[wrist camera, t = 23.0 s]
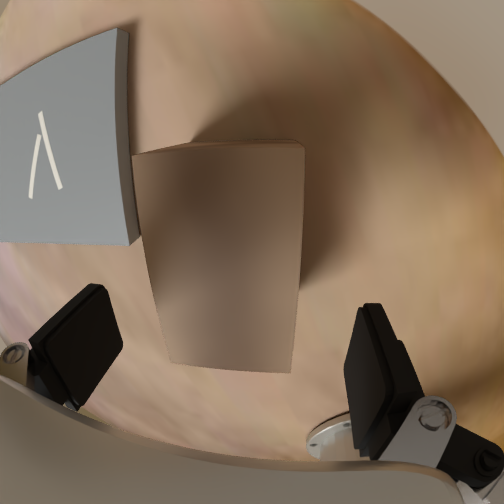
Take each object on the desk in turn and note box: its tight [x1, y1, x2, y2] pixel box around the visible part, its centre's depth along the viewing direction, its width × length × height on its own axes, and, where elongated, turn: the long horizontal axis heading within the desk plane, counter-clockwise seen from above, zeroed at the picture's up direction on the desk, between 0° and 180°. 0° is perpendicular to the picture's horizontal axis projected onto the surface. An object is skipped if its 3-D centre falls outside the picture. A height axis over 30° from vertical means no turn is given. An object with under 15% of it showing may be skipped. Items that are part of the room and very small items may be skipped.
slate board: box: [0, 28, 140, 246], centre depth 16 cm, size 24×14×2 cm, turn 91°
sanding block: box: [132, 140, 305, 373], centre depth 14 cm, size 6×10×7 cm, turn 1°
